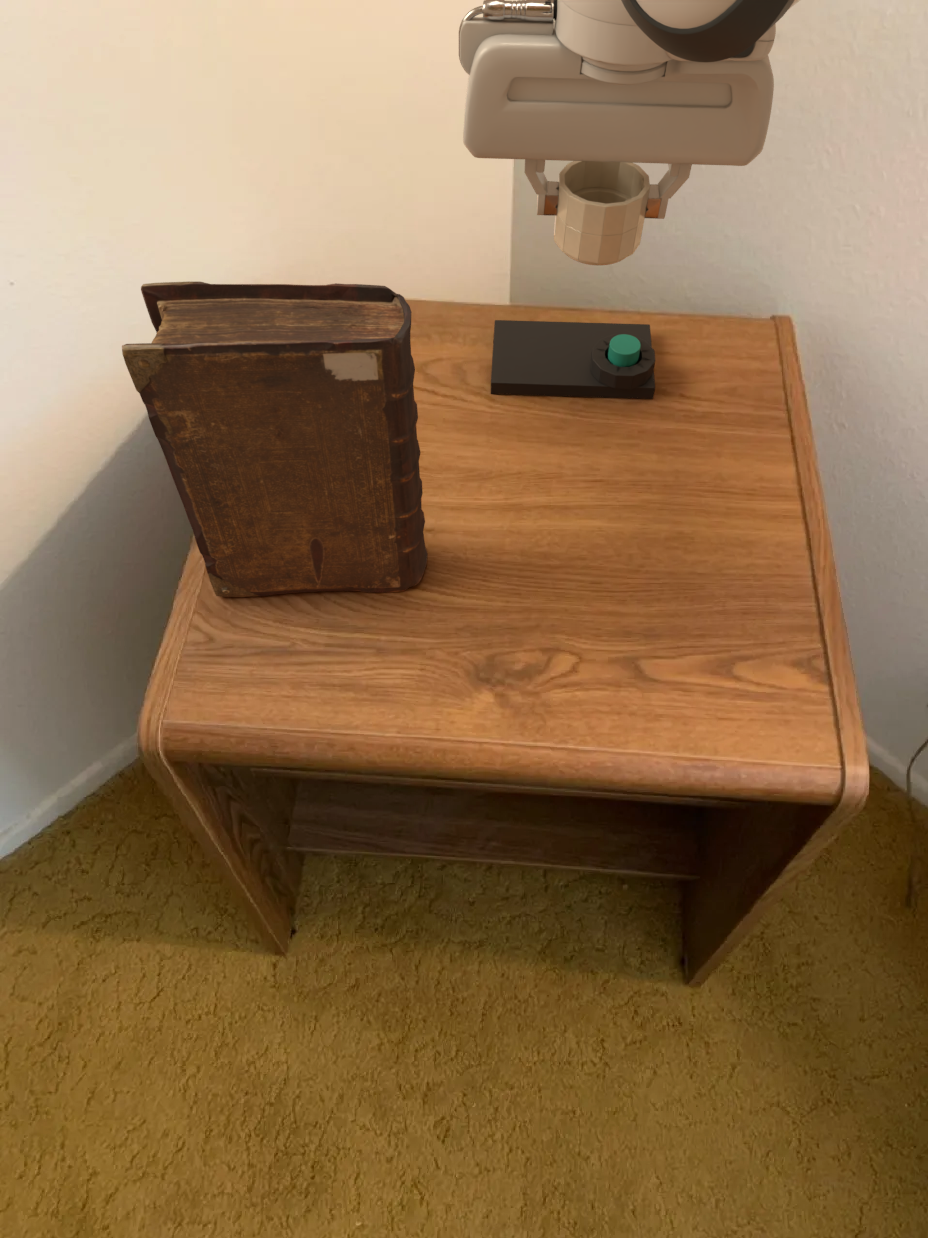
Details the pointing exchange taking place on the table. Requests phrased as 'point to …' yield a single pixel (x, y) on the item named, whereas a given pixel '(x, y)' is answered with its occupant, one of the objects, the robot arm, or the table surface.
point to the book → (288, 432)
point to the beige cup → (600, 210)
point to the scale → (568, 360)
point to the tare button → (624, 350)
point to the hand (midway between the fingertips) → (600, 212)
